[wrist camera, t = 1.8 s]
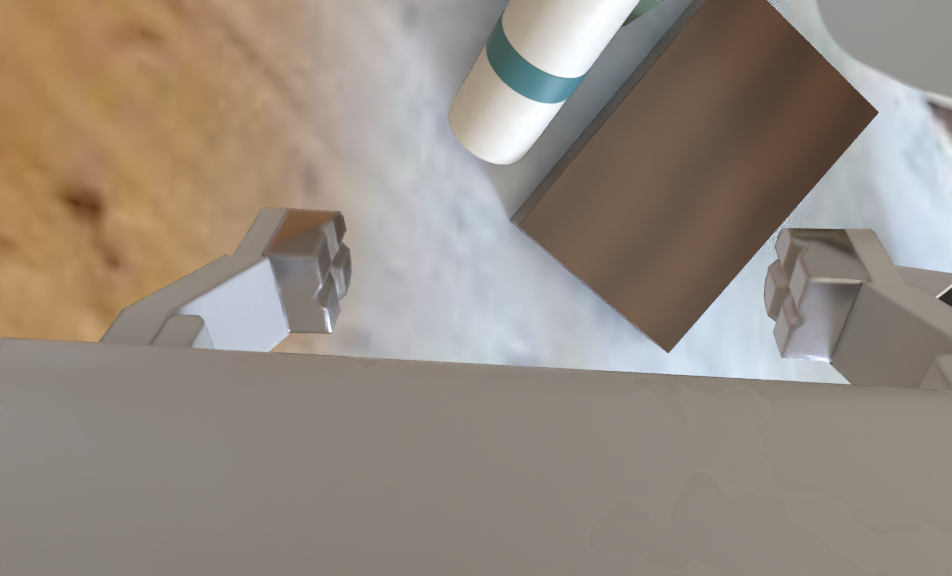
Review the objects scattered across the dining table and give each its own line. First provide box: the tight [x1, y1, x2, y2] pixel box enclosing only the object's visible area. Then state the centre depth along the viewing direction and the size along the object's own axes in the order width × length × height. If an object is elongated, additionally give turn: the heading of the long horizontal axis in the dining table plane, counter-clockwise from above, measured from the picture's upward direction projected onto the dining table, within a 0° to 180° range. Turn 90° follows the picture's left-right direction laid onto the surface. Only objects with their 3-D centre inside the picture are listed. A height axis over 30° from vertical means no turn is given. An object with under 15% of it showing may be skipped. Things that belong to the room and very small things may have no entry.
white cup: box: [894, 265, 952, 307], centre depth 47 cm, size 7×7×10 cm
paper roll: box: [448, 0, 640, 165], centre depth 40 cm, size 13×6×13 cm, turn 150°
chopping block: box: [510, 0, 879, 353], centre depth 47 cm, size 13×20×4 cm, turn 140°
